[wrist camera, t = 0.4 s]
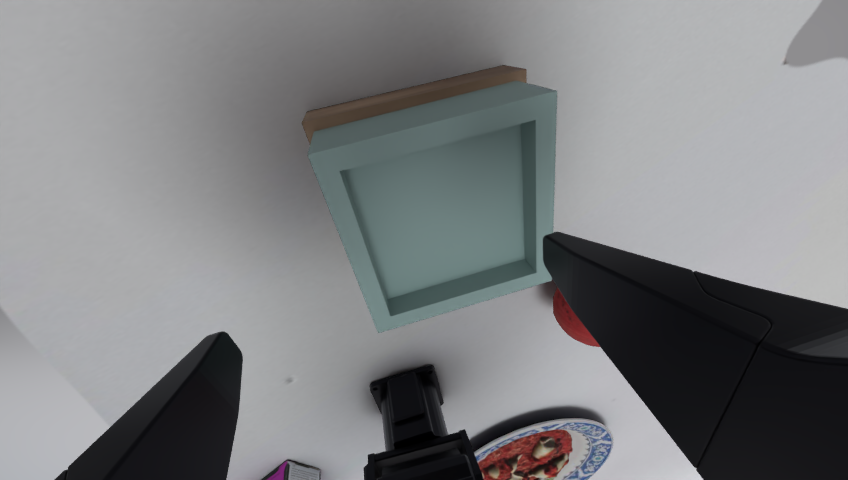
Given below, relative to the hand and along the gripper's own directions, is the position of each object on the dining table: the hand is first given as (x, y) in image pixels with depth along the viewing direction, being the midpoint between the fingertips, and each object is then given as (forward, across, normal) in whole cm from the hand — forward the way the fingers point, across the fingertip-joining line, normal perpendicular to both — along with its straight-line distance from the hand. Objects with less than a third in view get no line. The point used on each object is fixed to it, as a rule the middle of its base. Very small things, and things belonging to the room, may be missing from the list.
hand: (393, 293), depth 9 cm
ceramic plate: (+15, -9, +49) cm, 52 cm away
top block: (+11, -3, +3) cm, 12 cm away
